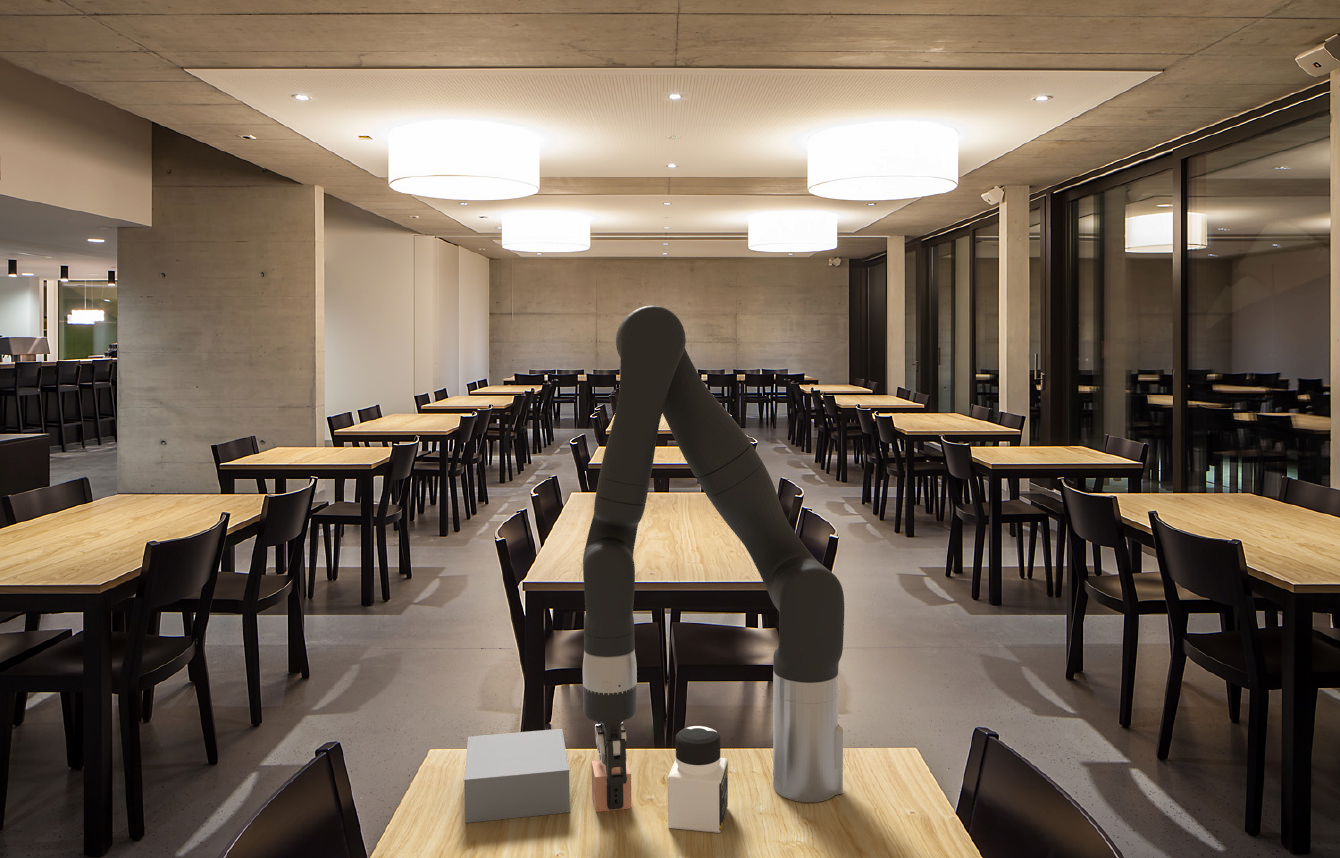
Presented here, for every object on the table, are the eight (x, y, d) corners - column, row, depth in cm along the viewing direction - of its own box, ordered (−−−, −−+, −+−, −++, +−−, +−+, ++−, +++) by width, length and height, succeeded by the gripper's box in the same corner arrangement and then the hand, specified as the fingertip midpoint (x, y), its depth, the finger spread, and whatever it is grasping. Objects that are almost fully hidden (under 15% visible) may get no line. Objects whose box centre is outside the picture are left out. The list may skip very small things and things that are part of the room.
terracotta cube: (626, 791, 126) (626, 758, 126) (631, 808, 121) (631, 773, 121) (591, 795, 125) (591, 761, 125) (595, 812, 120) (595, 777, 120)
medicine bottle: (720, 834, 114) (720, 745, 113) (667, 829, 116) (666, 740, 115) (728, 807, 121) (727, 723, 120) (677, 802, 123) (677, 719, 122)
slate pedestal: (562, 766, 134) (562, 728, 133) (569, 812, 120) (569, 770, 120) (469, 775, 131) (468, 736, 131) (465, 823, 117) (464, 779, 117)
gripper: (644, 697, 116) (645, 816, 117) (629, 662, 130) (630, 768, 131) (587, 702, 114) (589, 821, 115) (578, 665, 128) (580, 773, 129)
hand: (611, 793), depth 123 cm, fingers open, 8 cm apart
